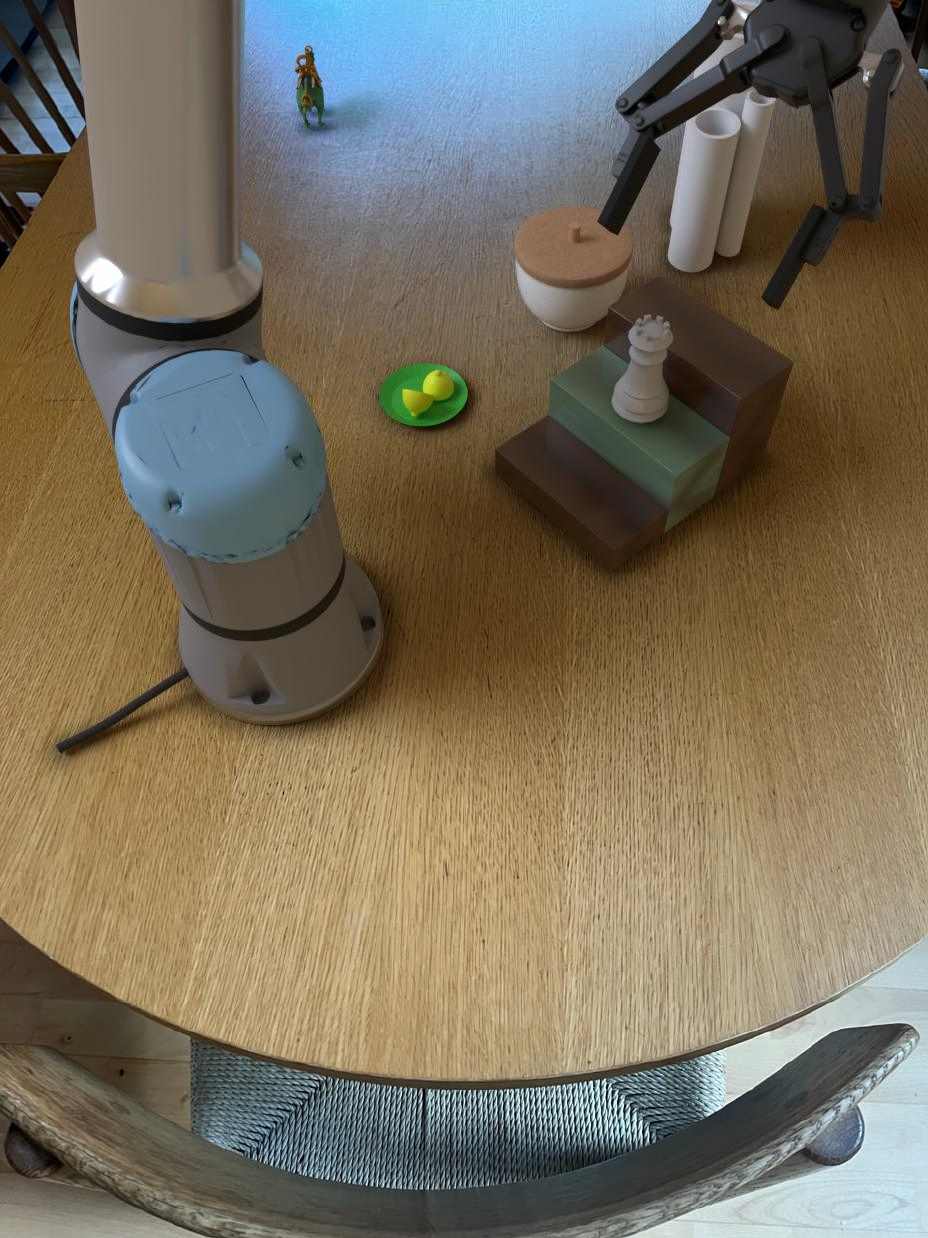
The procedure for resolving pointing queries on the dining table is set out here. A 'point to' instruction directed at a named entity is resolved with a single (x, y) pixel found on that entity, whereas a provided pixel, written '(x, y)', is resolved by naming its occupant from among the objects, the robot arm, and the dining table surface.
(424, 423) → the green plate with lemons
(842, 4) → the robot arm
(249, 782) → the dining table surface
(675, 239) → the vase
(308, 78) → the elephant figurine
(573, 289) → the trinket box
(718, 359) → the step shelf
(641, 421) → the rook chess piece
